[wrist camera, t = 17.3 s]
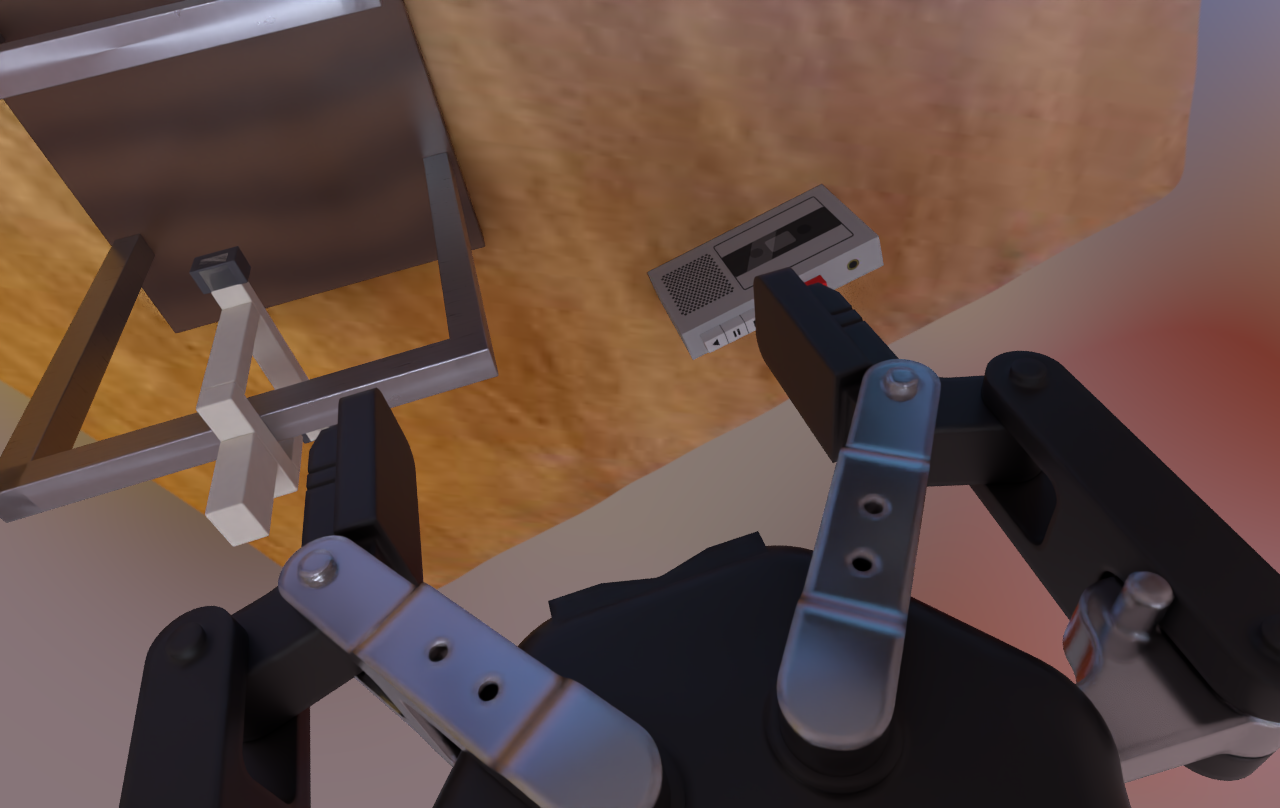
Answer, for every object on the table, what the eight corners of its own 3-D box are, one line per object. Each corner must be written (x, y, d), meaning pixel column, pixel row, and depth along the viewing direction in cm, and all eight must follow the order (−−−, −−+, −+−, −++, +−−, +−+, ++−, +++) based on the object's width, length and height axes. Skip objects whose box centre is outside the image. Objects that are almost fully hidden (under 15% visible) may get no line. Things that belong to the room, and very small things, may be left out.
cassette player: (821, 184, 59) (885, 242, 52) (827, 211, 61) (890, 271, 54) (647, 272, 60) (686, 342, 53) (658, 297, 62) (697, 367, 55)
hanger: (193, 257, 33) (128, 444, 24) (238, 245, 34) (190, 425, 24) (306, 427, 41) (288, 619, 32) (341, 416, 41) (335, 604, 32)
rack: (-142, -123, 34) (-658, -9, 17) (328, -222, 37) (294, -210, 19) (179, 322, 52) (86, 600, 35) (483, 237, 54) (539, 458, 37)
